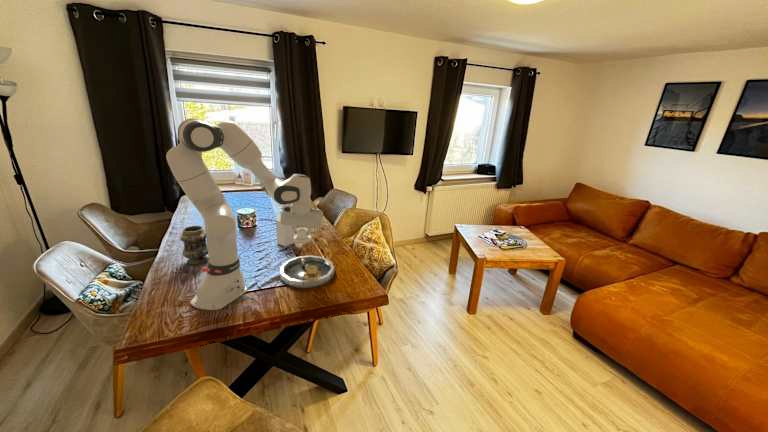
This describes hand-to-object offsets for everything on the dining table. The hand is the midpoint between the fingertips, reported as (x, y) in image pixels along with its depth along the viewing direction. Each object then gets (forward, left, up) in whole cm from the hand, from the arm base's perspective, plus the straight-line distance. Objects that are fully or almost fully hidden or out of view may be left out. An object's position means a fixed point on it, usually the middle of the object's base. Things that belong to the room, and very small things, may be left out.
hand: (302, 234), depth 149 cm
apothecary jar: (-9, +53, -19) cm, 57 cm away
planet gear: (0, 0, -3) cm, 3 cm away
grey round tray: (-4, -4, -19) cm, 20 cm away
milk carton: (+24, +22, -19) cm, 37 cm away
